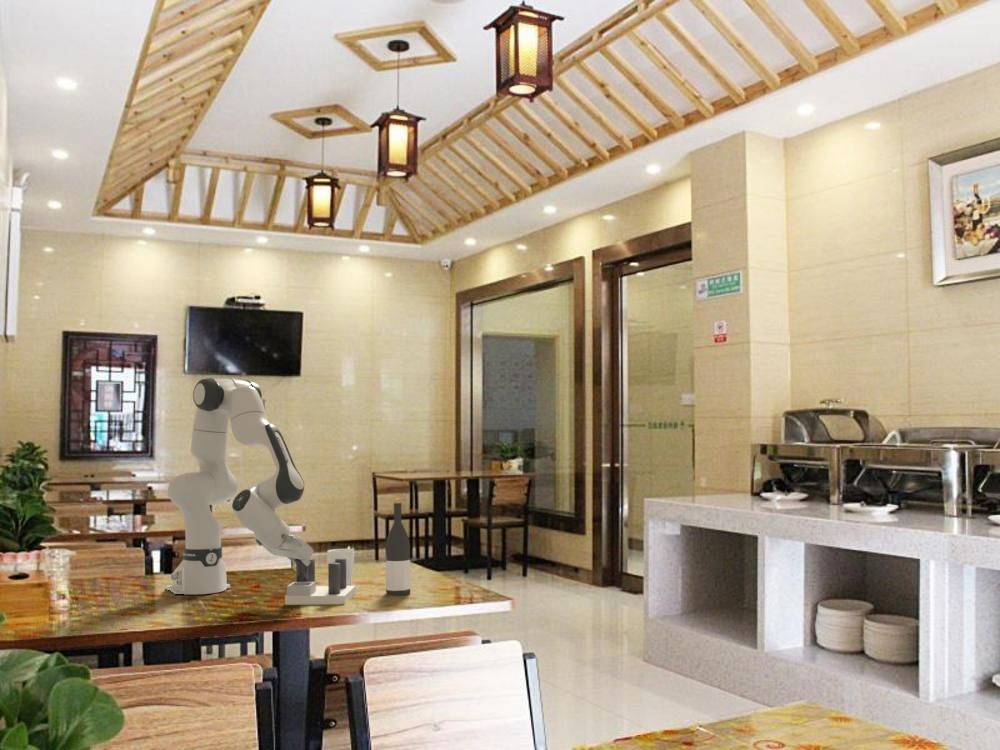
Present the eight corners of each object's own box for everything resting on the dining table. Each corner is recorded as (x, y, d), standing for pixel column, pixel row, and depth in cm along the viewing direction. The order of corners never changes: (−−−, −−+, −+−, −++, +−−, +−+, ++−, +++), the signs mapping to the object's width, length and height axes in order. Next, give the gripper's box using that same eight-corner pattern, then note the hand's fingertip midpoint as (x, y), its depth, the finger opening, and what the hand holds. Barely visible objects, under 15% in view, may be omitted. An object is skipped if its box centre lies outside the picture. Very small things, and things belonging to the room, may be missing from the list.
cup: (348, 589, 300) (348, 552, 301) (322, 588, 302) (322, 551, 303) (358, 584, 309) (358, 548, 310) (332, 584, 311) (332, 548, 312)
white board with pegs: (285, 604, 274) (285, 566, 275) (299, 594, 292) (299, 557, 293) (344, 604, 274) (344, 565, 275) (355, 593, 292) (355, 557, 292)
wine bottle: (406, 596, 286) (405, 499, 288) (381, 595, 288) (381, 499, 290) (414, 591, 294) (413, 497, 296) (390, 591, 296) (389, 497, 298)
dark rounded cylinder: (293, 581, 278) (293, 551, 279) (303, 579, 281) (303, 550, 282) (300, 582, 276) (299, 552, 277) (310, 580, 278) (309, 551, 279)
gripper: (300, 527, 267) (328, 558, 273) (264, 524, 282) (292, 552, 288) (286, 544, 264) (316, 575, 270) (251, 539, 279) (280, 568, 285)
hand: (303, 563), depth 279 cm, fingers closed on dark rounded cylinder, 3 cm apart
